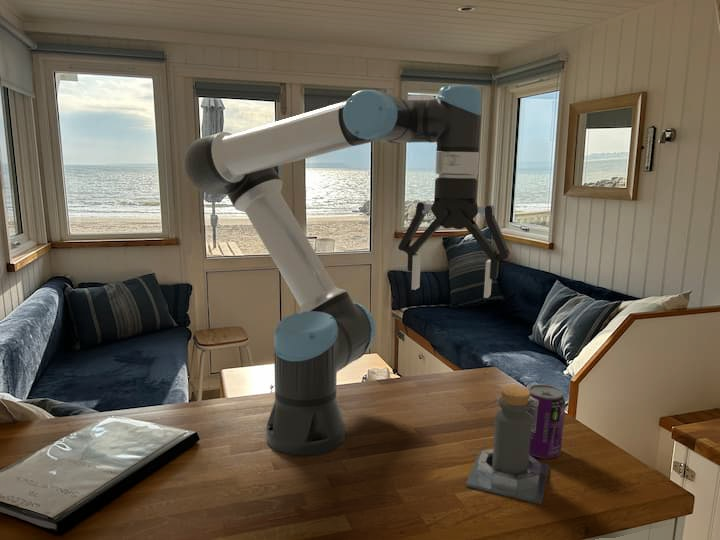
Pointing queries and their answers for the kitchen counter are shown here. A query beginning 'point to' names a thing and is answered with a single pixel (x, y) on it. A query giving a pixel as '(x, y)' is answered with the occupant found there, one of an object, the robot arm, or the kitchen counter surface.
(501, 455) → the bottle
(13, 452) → the kitchen counter surface
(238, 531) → the kitchen counter surface
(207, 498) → the kitchen counter surface
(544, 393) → the beverage can
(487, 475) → the ring seat
